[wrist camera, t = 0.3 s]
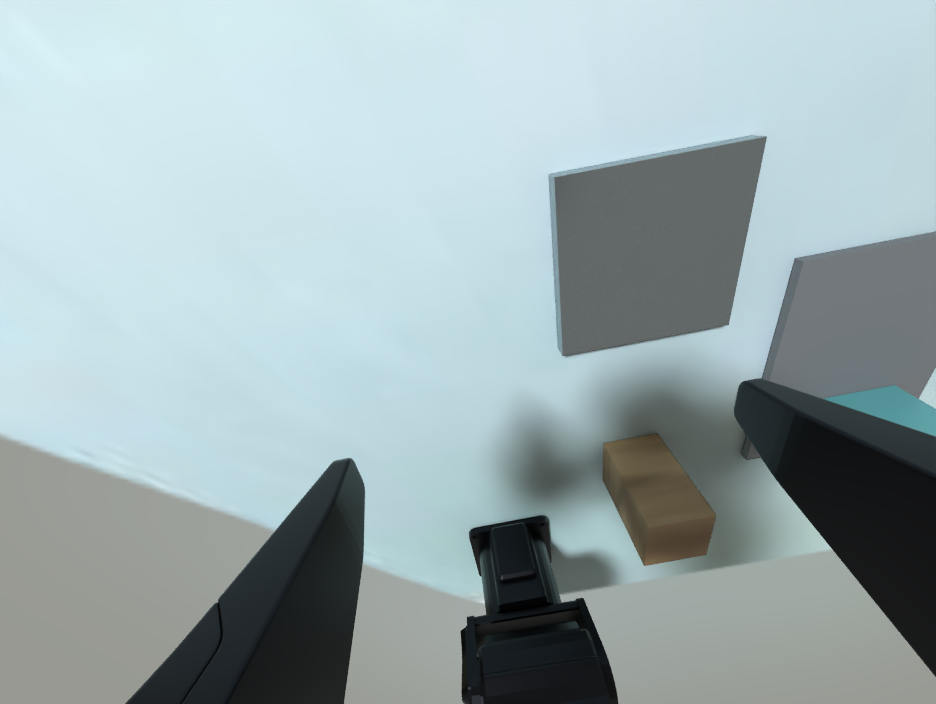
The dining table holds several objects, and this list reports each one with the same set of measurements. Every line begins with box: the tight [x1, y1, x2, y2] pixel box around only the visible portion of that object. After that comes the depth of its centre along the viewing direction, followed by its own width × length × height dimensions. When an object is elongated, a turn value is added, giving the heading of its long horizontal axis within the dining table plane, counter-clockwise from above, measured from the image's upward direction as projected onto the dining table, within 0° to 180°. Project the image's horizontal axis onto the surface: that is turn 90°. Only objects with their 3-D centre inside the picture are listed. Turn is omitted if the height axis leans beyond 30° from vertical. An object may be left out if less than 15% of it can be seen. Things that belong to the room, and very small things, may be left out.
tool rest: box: [549, 135, 767, 356], centre depth 22 cm, size 10×10×1 cm
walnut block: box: [603, 433, 716, 566], centre depth 28 cm, size 4×4×7 cm
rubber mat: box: [741, 232, 936, 460], centre depth 27 cm, size 16×12×1 cm
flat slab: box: [823, 385, 936, 436], centre depth 25 cm, size 2×7×8 cm, turn 100°
